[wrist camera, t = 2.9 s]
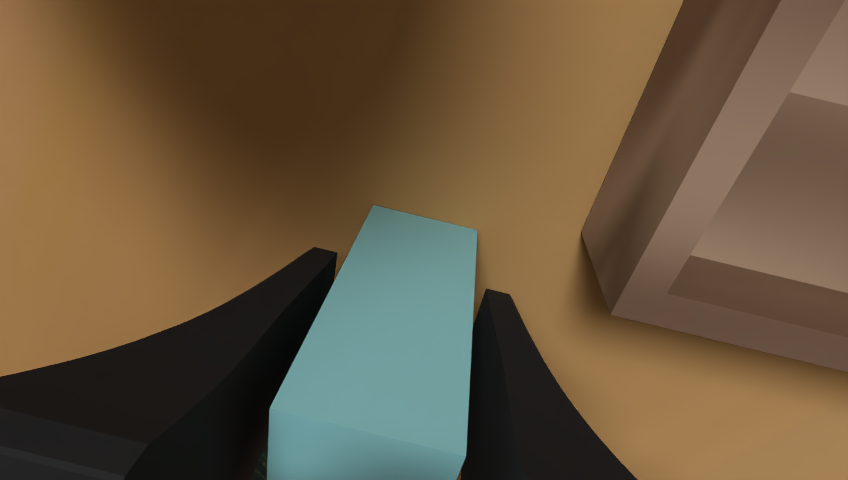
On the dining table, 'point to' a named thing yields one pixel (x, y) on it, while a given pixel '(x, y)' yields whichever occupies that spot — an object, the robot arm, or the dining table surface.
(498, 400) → the robot arm
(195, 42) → the dining table surface
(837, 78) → the socket box
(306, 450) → the peg
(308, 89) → the dining table surface
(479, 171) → the dining table surface
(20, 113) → the dining table surface
